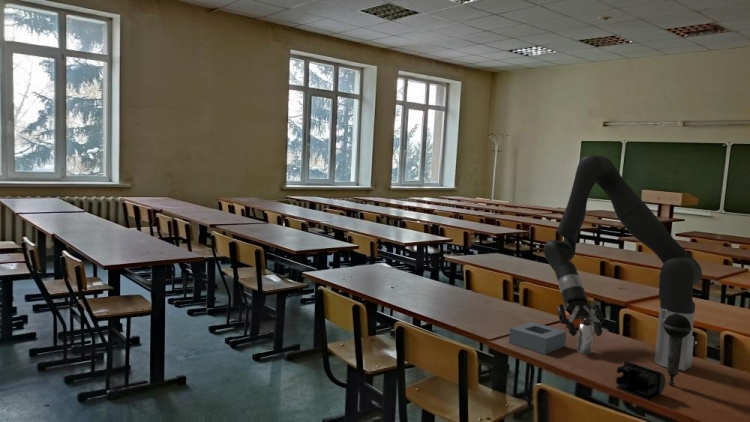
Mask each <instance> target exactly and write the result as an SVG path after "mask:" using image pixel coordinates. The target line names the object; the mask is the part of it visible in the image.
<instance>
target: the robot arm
mask: <svg viewBox="0 0 750 422" xmlns="http://www.w3.org/2000/svg"><path fill="white" fill-rule="evenodd" d="M595 184H597V186H599V187H600V189H602V191H603V192H604V193H605V194H606V195H607V197H608V198H609V199H610V203H611V205H612V207H613V210H614V212H615V215H616V217H617V218H618V220H619V222H620V223H621V224H622V225H623V226H624V228H625V229H626V230H627V231H628V232H629V234H630V235H631V236H633V237H634V238H635V239H636V241H637V240H638V241H639V243H641V244H642V245H644V246H646V247H647V248H648V249H649V250H651V251H652V252H653V253H654V254H655V255H656V256H657V257H658V258H659V260H660V261H661V263H662V265H661V269H660V273H659V283H658V299H659V304H660V305H659V313H658V323H657V324H658V325H657V333H656V342H655V343H656V345H655V353H654V362H655V363H656V364H657V365H658V366H660V367H664V368H667V367H668V351H669V335H668V334H667V333H666V331H665V329H664V326H663V323H664V321H665V319H666V318H667V317H668V316H670V315H673V314H679V315H682V316H684V317H686V318H687V319H688V320H689V322H690V324H691V328H692V329H691V331H690V333H689V334H688V335H687V336H686V337H684V338H683V341H682V348H681V355H680V362H679V369H678V371H682V372H685V371H686V370H689V369H690V368H691V367H692V361H693V354H694V353H693V352H694V342H695V336H694V335H693V330H694V321H695V320H694V319H695V313H696V312H695V311H696V304H695V302H694V300H693V291H694V290H693V289H694V285H696V284H698V283H699V282H700V280H701V279H702V276H703V271H702V267H701V265H700V263H699V262H698V261H697V260H696V259H695V258H694V257H693V256H692V255H691V254H690V253H689V252H688V251H687V250H686V249H685V248H684V247H682V246H681V245H680V243H678V242H677V240H676V239H674V237H673V236H672V235H671V233H670V232H669V231H668V230H667V228H666V227H665V226H664V225H663V224H662V222H661V221H660V220H659V219H658V217H657V216H656V214H654V212H653V211H652V209H650V207H649V206H648V205H647V204H646V203H645V202H644V201H643V200H642V199H641V197H639V195H638V194H637V193H636V192H635V191H634V190H633V189H632V188H631V186H630V185H628V183H627V182H626V181H625V179H624V178H623V177H622V174H620V172H619V171H618V169H617V168H616V166H615V165H614V163H613V162H612V161H611V160H610V158H608V157H607V156H604V155H597V154H588V155H586V156H584V157H582V158H581V159H580V160H579V162H578V164H577V167H576V171H575V175H574V180H573V184H572V186H571V192H570V194H569V199H568V202H567V204H566V207H565V209H564V212H563V214H562V217H561V219H560V222H559V224H558V226H557V229H556V231H557V234H559V236H561V237H563V241H559V240H554V239H551V240H548V241H546V242H545V244H544V246H543V254H544V255H543V256H544V257H545V260H546V262H547V263H548V264H549V266H550V267H551V269H552V270H553V271H554V274H555V276H556V279H557V282H558V287H559V288H558V289H559V292H560V294H561V297H562V301H563V304H562V303H561V304H559V306H557V308H556V310H557V311H556V312H557V315H558V319H559V323H560V324H561V325H564V324H566V325H567V326H568V327H567V326H566V327H567V329H568V333H569V334H570V335H571V337H575V336H576V335H578V333H577V328H575V326H574V323H572V322H573V319H574V318H575V319H584V318H590V324H593V325H594V332H595V335H596V337H600V336H601V335H602V334H603V329H602V324H603V322H605V319H606V318H605V317H604V315H603V312H602V310H601V307H600V306H599V305H598V304H595V305H594V306H593V305H592V306H591V305H590V304H589V298H588V297H587V293H586V291H585V290H586V289H585V287H584V285H583V282H582V280H581V278H580V276H579V273H578V270H577V267H576V266H575V264H574V263H573V262H572V261H571V260H572V259H573V258H574V257H575V254H576V248H577V242H578V241H577V240H578V235H579V232H580V230H581V229H582V226H583V223H584V221H585V217H586V213H587V206H588V205H587V203H588V199H589V196H590V192H592V189H593V188H594V185H595ZM565 311H567V312H568V313H569V314H570V315H569V318H568V319H567V318H566V314H565Z"/></svg>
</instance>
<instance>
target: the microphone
mask: <svg viewBox="0 0 750 422" xmlns="http://www.w3.org/2000/svg"><path fill="white" fill-rule="evenodd" d="M663 326H664V329H665V331H666V333H667V334H668V335H669V351H668V367H666V368H667V371H666V373H667V374H668V376H670V380H669V382H668V385H669V386H672V387H673V386H674V385H675V382H674V377H675V378H676V376H678V375H679V370H678V369H679V362H680V355H681V348H682V341H683V338H684V337H686V336H687V335H688V334H689V333H690V331H691V329H692V328H691V324H690V322H689V320H688V319H687V318H686V317H684V316H682V315H679V314H673V315H670V316H668V317H667V318H666V319H665V321H664V323H663Z"/></svg>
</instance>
